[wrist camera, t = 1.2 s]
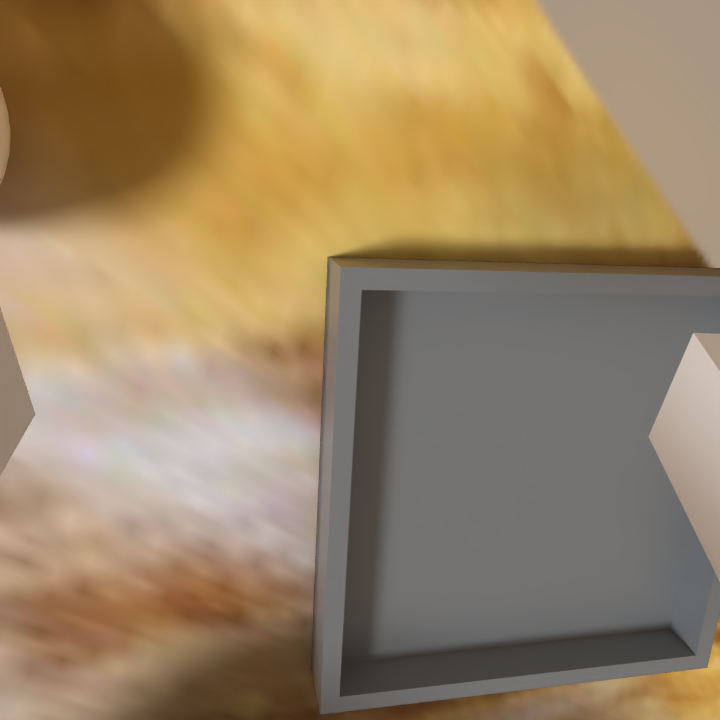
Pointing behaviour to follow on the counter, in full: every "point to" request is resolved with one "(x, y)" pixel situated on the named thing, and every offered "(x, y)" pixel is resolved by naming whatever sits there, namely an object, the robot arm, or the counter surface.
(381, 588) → the walled tray
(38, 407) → the counter surface
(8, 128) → the lidded jar
